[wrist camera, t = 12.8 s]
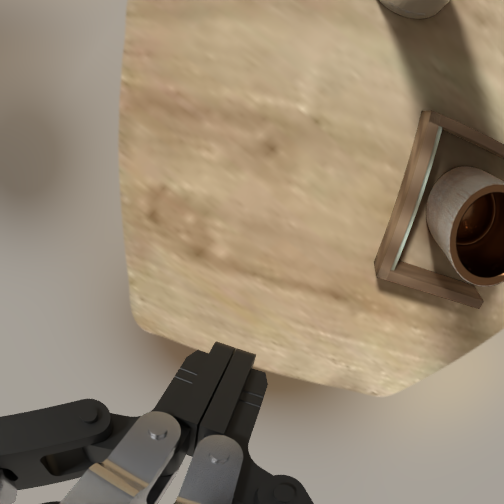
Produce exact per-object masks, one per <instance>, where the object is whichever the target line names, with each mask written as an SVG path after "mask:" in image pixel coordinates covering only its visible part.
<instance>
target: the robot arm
mask: <svg viewBox="0 0 504 504" xmlns="http://www.w3.org/2000/svg"><path fill="white" fill-rule="evenodd" d="M379 1H380V2H381V3H382V4H383V5H384V6H386V7H387V8H388V9H390V10H391V11H393V12H395V13H397V14H399V15H401V16H404V17H408V18H413V19H424V18H429V17H431V16H434V15H435V14H437V13H438V12H439V11H440V10H441V9H442V8H443V7H444V6H445V5H446V4H447V3H448V2H449V1H450V0H379ZM235 349H236V348H234V347H231V346H228V345H225V344H222V343H219V342H215V344H214V345H213V347H212V349H211V351H210V353H209V354H208V353H205V352H202V351H200V350H197V351H195V352H194V353H192V354H191V355H189V356H188V357H187V358H186V359H185V361H184V362H183V364H182V366H181V367H180V369H179V370H178V372H177V373H176V375H175V377H174V378H173V380H172V381H171V383H170V384H169V386H168V388H167V389H166V391H165V392H164V394H163V396H162V397H161V399H160V400H159V402H158V403H157V405H156V407H155V408H154V409H153V410H152V411H151V412H148V413H146V414H144V415H142V416H139V417H129V416H122V415H117V414H112V413H110V412H109V410H108V408H107V407H106V406H105V405H104V404H103V403H101V402H100V401H97V400H94V399H83V400H79V401H74V402H71V403H66V404H62V405H57V406H53V407H49V408H44V409H39V410H34V411H30V412H25V413H19V414H14V415H9V416H3V417H0V504H12V503H14V502H15V500H16V495H17V490H21V489H28V488H33V487H38V486H44V485H49V484H53V483H58V482H62V481H66V480H71V479H75V478H79V477H81V478H80V479H79V481H78V482H77V483H76V484H75V485H74V487H73V488H72V489H71V491H69V493H68V494H67V495H66V496H65V498H64V499H63V500H62V501H61V502H57V501H56V502H47V503H42V504H158V503H159V501H160V499H161V498H162V496H163V495H164V493H165V491H166V490H167V488H168V487H169V485H170V484H171V482H172V480H173V479H174V477H175V476H176V474H177V472H178V470H179V467H180V465H181V464H182V462H183V459H184V457H185V455H186V454H187V455H189V456H192V461H191V463H190V465H189V468H188V471H187V474H186V476H185V479H184V482H183V484H182V487H181V490H180V492H179V495H178V497H177V500H176V502H175V503H174V504H314V503H313V502H312V501H311V498H310V497H309V495H308V493H307V492H306V490H305V488H304V487H303V485H302V484H301V483H300V482H299V481H298V480H296V479H295V478H293V477H290V476H286V475H275V476H273V475H272V474H270V473H268V472H267V471H265V470H263V469H262V468H260V467H259V466H257V465H256V464H255V463H254V461H253V460H252V459H251V457H250V455H249V452H248V443H249V439H250V436H251V433H252V431H253V428H254V425H255V422H256V419H257V416H258V413H259V410H260V407H261V403H262V401H263V398H264V394H265V391H266V388H267V385H268V384H267V379H266V374H265V372H262V371H258V370H255V369H252V367H253V364H254V360H255V357H256V354H253V353H249V352H246V351H243V350H240V349H236V350H235Z"/></svg>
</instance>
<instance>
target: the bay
mask: <svg viewBox="0 0 504 504" xmlns="http://www.w3.org/2000/svg"><path fill="white" fill-rule="evenodd" d="M442 130H444V131H447V132H449V133H451V134H453V135H456V136H458V137H460V138H462V139H465V140H467V141H469V142H471V143H473V144H475V145H477V146H479V147H481V148H484V149H486V150H488V151H490V152H492V153H493V154H495V155H497V156H499V157H501V158H503V159H504V144H502V143H500V142H498V141H496V140H494V139H492V138H490V137H488V136H486V135H484V134H482V133H480V132H478V131H476V130H474V129H472V128H470V127H468V126H466V125H464V124H462V123H459V122H457V121H455V120H453V119H450V118H448V117H446V116H443V115H441V114H439V113H436V112H434V111H422V112H421V117H420V121H419V125H418V128H417V132H416V136H415V140H414V144H413V147H412V151H411V154H410V158H409V161H408V165H407V168H406V171H405V175H404V178H403V181H402V184H401V187H400V191H399V194H398V197H397V200H396V203H395V206H394V209H393V212H392V215H391V218H390V220H389V223H388V226H387V229H386V232H385V234H384V237H383V240H382V243H381V245H380V248H379V251H378V253H377V256H376V258H375V261H374V265H375V271H376V276H377V278H381V279H384V280H387V281H390V282H394V283H397V284H400V285H403V286H407V287H410V288H413V289H417V290H420V291H423V292H426V293H430V294H433V295H436V296H439V297H442V298H446V299H449V300H452V301H455V302H459V303H462V304H465V305H468V306H471V307H474V308H478V309H479V308H480V307H481V305H482V303H483V300H482V298H481V296H480V295H479V293H478V291H477V290H476V288H475V286H473V285H471V284H468V283H465V282H462V281H459V280H456V279H453V278H450V277H447V276H444V275H441V274H438V273H435V272H432V271H429V270H426V269H423V268H420V267H417V266H414V265H411V264H407V263H404V262H401V261H398V260H399V257H400V255H401V252H402V250H403V247H404V245H405V242H406V240H407V237H408V235H409V232H410V229H411V227H412V224H413V221H414V218H415V216H416V213H417V210H418V207H419V204H420V201H421V199H422V196H423V193H424V190H425V186H426V183H427V180H428V177H429V174H430V171H431V167H432V164H433V161H434V157H435V154H436V150H437V147H438V143H439V139H440V135H441V132H442Z"/></svg>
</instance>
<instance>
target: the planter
mask: <svg viewBox="0 0 504 504" xmlns="http://www.w3.org/2000/svg"><path fill="white" fill-rule="evenodd" d="M426 218H427V223H428V227H429V230H430V232H431V234H432V236H433V238H434V239H435V241H436V242H437V244H438V245H439V247H440V248H441V249H442V251H443V252H444V254H445V255H446V257H447V258H448V260H449V261H450V263H451V264H452V266H453V267H454V269H455V270H456V272H457V273H458V274H459V275H460V276H461V277H462V278H463V279H464V280H465V281H467V282H469V283H471V284H473V285H477V286H493V285H497V284H499V283H502V282H504V181H502V180H500V179H498V178H496V177H495V176H493V175H491V174H489V173H487V172H485V171H483V170H481V169H479V168H475V167H469V166H463V167H457V168H454V169H452V170H450V171H448V172H446V173H445V174H444V175H442V176H441V177H440V178H439V179H438V180H437V182H436V183H435V184H434V186H433V188H432V190H431V192H430V194H429V197H428V201H427V206H426Z"/></svg>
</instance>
